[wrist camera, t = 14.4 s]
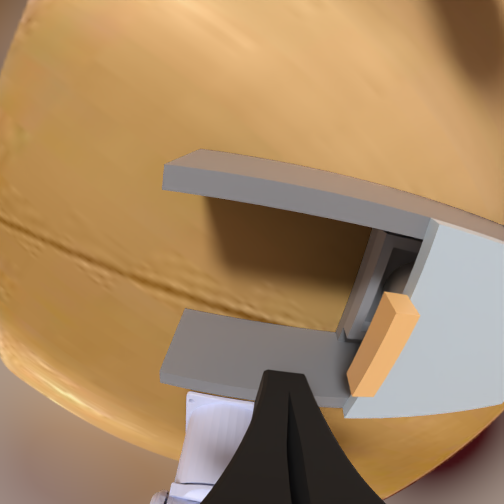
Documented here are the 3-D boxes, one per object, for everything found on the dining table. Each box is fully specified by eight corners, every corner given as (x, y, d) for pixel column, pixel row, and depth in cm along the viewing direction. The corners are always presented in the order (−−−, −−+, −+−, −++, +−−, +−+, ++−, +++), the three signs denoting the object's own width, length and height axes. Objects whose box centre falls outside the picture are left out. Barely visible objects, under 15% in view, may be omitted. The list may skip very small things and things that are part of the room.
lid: (497, 397, 16) (507, 413, 14) (324, 407, 16) (327, 433, 14) (573, 268, 11) (589, 282, 9) (407, 211, 11) (429, 228, 9)
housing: (470, 351, 22) (499, 397, 16) (184, 319, 21) (160, 382, 16) (526, 235, 17) (573, 269, 11) (200, 149, 17) (164, 164, 11)
